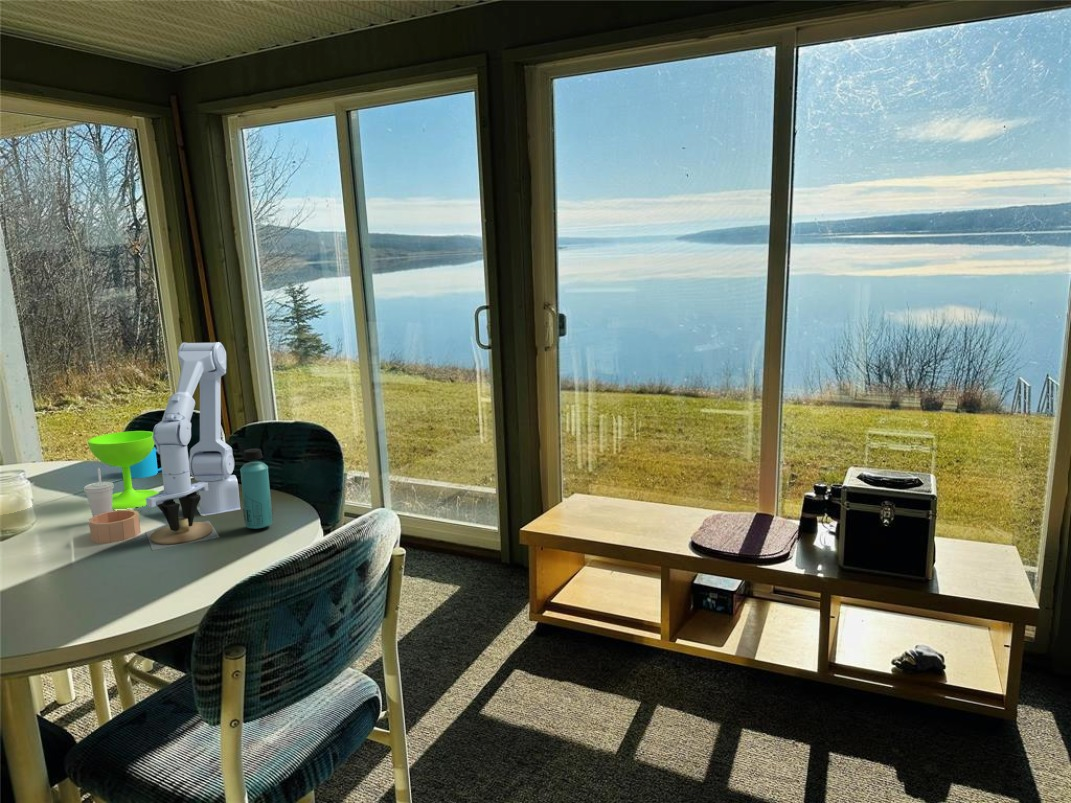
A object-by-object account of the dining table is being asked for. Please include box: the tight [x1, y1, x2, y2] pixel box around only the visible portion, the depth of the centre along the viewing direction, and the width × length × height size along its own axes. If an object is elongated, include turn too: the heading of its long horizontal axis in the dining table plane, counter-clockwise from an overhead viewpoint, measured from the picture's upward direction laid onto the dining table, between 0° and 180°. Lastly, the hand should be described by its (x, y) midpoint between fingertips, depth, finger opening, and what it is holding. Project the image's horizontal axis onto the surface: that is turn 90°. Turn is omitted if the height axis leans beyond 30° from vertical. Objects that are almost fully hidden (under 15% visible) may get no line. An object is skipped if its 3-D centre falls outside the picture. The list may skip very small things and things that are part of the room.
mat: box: [145, 520, 221, 551], centre depth 167 cm, size 14×14×1 cm
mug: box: [130, 446, 162, 479], centre depth 222 cm, size 12×8×8 cm
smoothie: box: [83, 467, 115, 517], centre depth 177 cm, size 6×6×14 cm
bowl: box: [88, 509, 142, 544], centre depth 167 cm, size 10×10×5 cm
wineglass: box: [87, 430, 160, 510], centre depth 193 cm, size 16×16×18 cm
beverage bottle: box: [239, 448, 274, 529], centre depth 169 cm, size 6×7×20 cm
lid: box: [151, 516, 213, 545], centre depth 167 cm, size 13×13×4 cm
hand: (181, 527), depth 167 cm, fingers closed on lid, 3 cm apart
